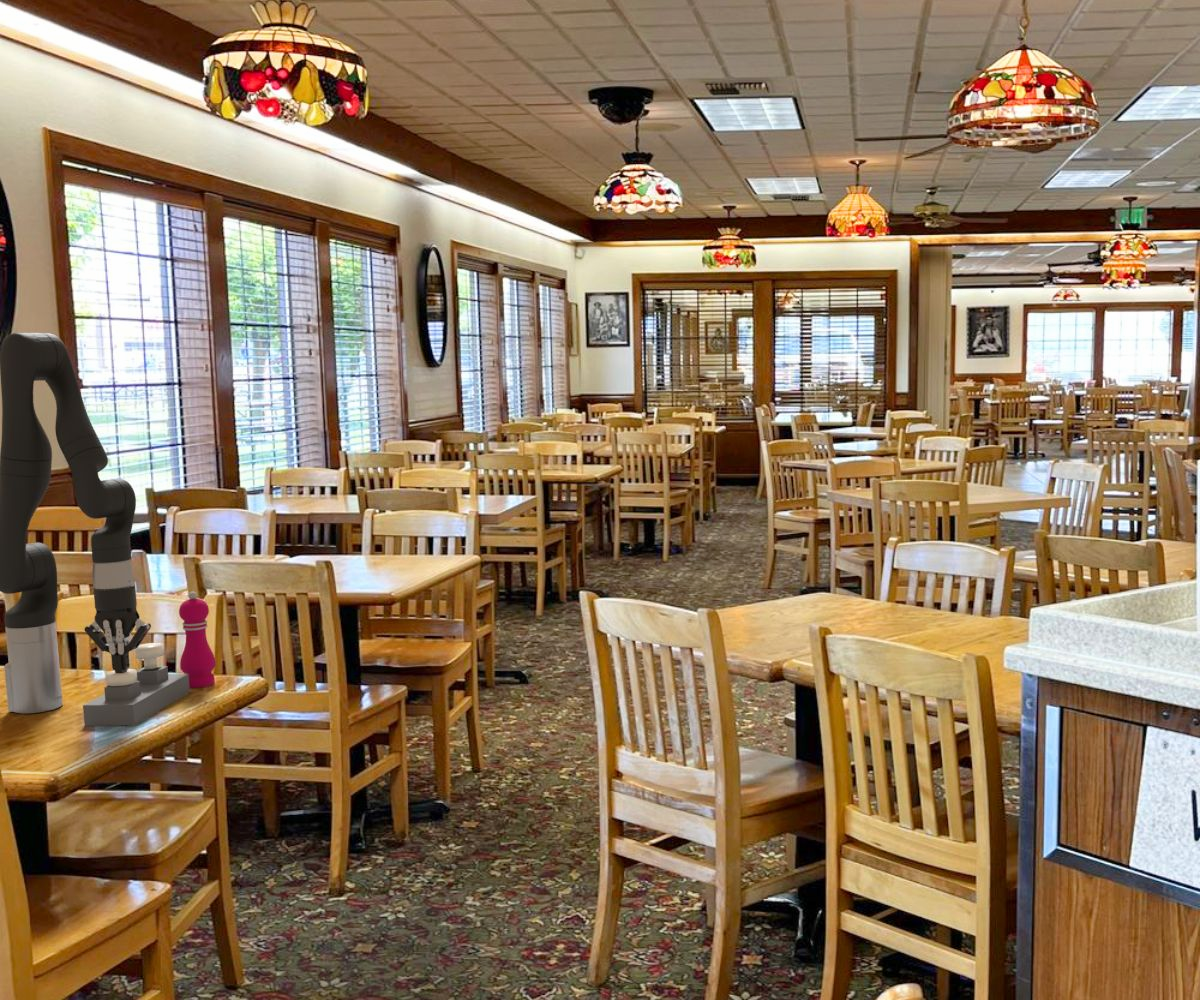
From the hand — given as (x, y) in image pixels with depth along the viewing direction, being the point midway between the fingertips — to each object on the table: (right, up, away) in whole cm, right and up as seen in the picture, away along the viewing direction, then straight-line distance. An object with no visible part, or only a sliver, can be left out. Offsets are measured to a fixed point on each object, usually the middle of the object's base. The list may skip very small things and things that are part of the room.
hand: (121, 672), depth 247 cm
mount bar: (+1, -8, +7) cm, 11 cm away
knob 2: (+1, -1, +12) cm, 12 cm away
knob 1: (0, -4, 0) cm, 5 cm away
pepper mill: (+7, -6, +25) cm, 27 cm away
